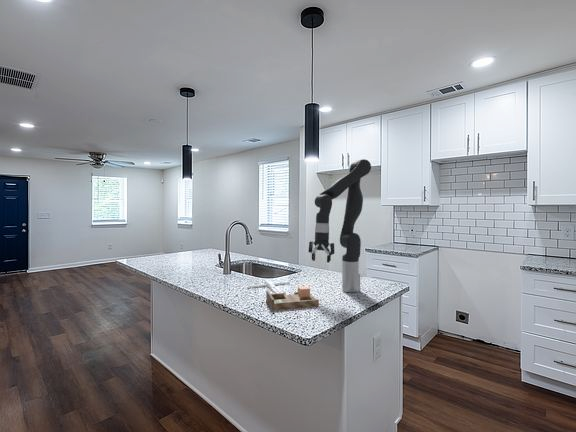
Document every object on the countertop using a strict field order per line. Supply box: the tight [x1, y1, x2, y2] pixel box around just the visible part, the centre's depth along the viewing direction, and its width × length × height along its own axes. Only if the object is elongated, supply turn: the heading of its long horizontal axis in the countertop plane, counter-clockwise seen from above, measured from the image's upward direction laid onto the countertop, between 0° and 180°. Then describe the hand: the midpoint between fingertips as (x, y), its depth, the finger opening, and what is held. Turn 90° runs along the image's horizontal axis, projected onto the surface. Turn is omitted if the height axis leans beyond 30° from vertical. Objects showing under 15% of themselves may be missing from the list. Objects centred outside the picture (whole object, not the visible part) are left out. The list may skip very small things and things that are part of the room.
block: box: [297, 286, 311, 297], centre depth 158 cm, size 5×5×4 cm
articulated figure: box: [247, 279, 291, 295], centre depth 177 cm, size 27×4×30 cm
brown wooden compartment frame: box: [265, 290, 320, 311], centre depth 153 cm, size 23×16×5 cm
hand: (320, 261), depth 165 cm, fingers open, 8 cm apart
